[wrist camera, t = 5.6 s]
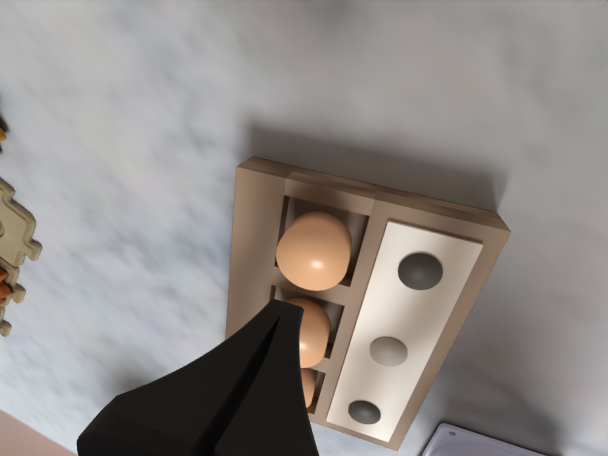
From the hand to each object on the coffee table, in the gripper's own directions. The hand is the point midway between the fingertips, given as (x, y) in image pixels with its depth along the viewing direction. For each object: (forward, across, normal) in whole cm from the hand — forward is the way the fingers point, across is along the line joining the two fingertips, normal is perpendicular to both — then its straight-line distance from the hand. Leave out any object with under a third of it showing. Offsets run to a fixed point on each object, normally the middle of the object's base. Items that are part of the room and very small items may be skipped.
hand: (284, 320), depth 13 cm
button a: (+7, 0, 0) cm, 7 cm away
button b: (+7, 0, +7) cm, 10 cm away
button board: (+10, -2, +6) cm, 12 cm away
